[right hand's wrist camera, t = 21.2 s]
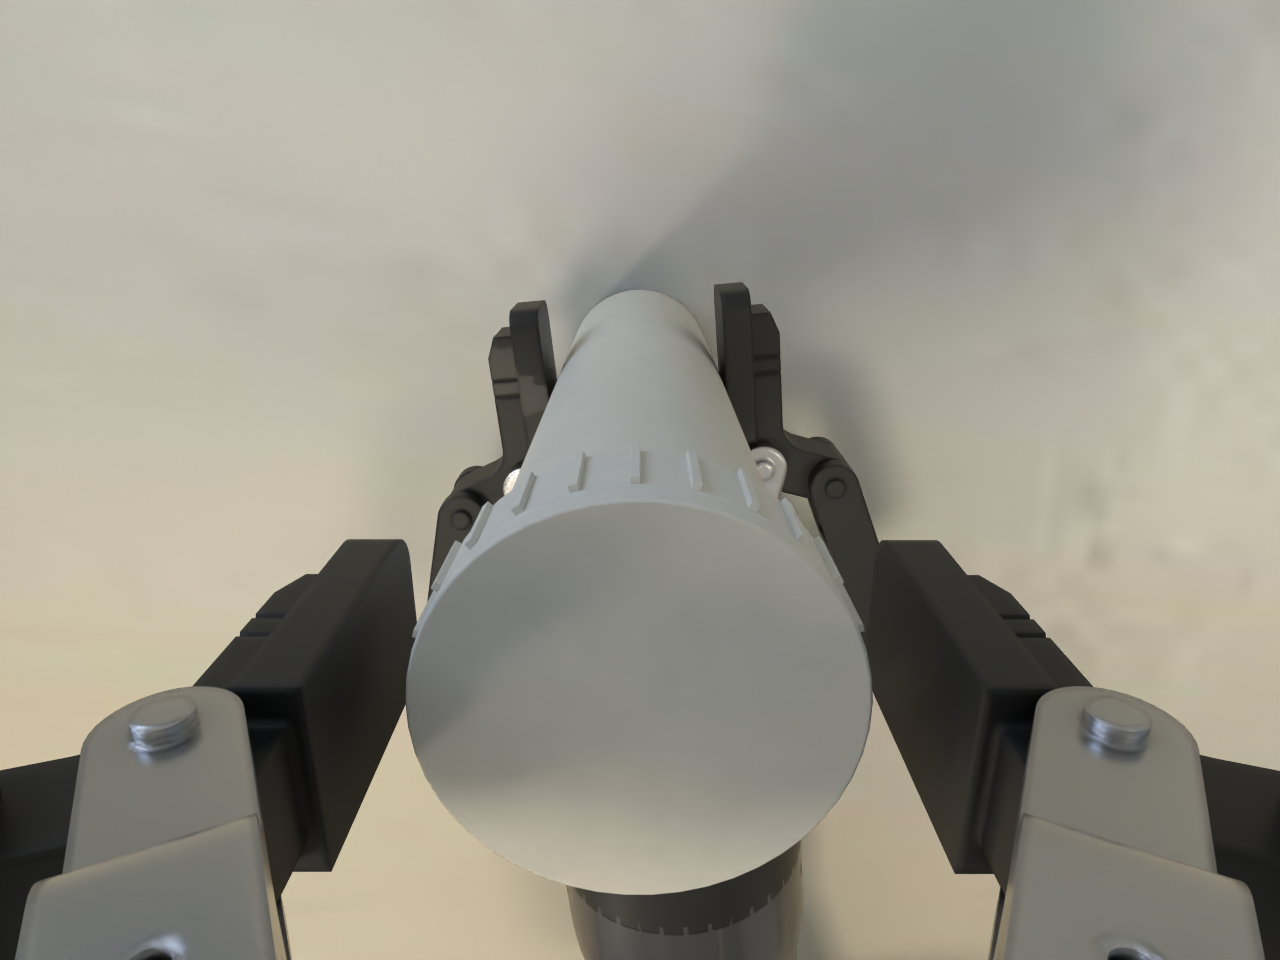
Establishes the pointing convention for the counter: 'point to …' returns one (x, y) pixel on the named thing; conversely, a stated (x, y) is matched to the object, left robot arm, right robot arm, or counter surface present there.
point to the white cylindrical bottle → (639, 390)
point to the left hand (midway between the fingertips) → (628, 299)
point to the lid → (639, 675)
